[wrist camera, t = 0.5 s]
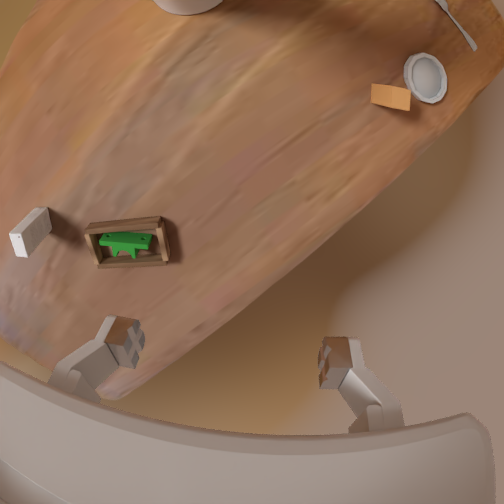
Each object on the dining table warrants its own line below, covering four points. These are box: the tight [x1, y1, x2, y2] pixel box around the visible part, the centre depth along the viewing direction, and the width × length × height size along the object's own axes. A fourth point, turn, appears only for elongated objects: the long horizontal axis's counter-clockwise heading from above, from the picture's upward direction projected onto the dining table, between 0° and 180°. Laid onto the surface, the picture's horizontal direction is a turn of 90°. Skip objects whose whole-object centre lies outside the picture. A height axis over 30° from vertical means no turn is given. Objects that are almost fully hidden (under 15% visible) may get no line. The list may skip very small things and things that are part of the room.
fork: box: [435, 0, 477, 52], centre depth 32 cm, size 3×21×3 cm, turn 58°
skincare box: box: [9, 207, 52, 257], centre depth 49 cm, size 6×4×12 cm
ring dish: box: [404, 53, 447, 103], centre depth 41 cm, size 11×11×2 cm
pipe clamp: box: [99, 232, 152, 258], centre depth 57 cm, size 11×4×5 cm, turn 82°
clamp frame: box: [85, 216, 171, 269], centre depth 58 cm, size 10×18×3 cm, turn 91°
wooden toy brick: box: [371, 84, 411, 111], centre depth 41 cm, size 4×4×8 cm
